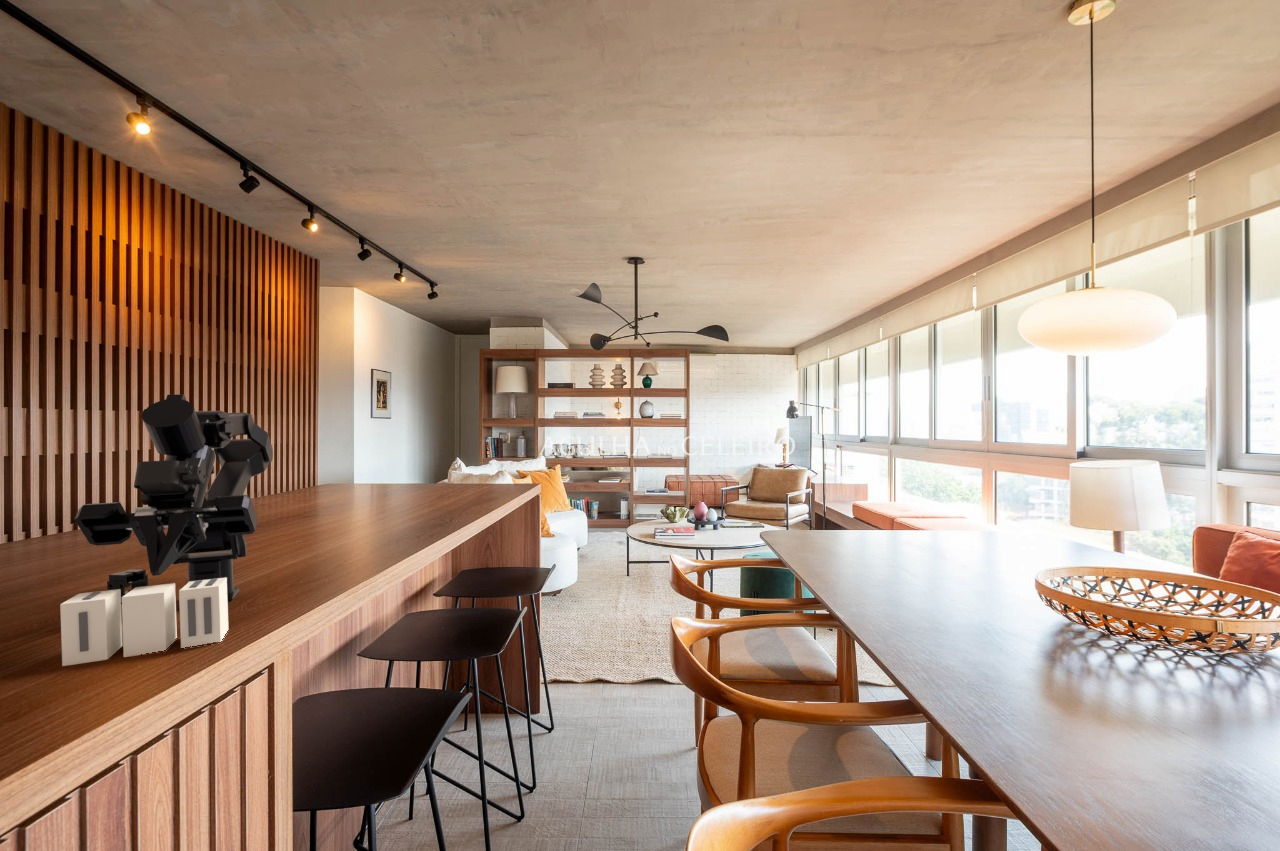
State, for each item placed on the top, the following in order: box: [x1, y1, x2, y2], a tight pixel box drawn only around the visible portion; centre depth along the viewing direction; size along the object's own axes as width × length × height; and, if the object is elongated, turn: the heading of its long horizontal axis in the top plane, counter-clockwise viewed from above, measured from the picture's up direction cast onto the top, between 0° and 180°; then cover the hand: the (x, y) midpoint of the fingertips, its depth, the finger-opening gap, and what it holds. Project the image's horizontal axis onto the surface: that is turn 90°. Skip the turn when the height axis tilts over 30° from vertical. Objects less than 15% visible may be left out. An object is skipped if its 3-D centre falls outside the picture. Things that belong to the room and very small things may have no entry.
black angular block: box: [106, 568, 149, 603], centre depth 99 cm, size 12×7×5 cm, turn 170°
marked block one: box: [59, 589, 123, 667], centre depth 73 cm, size 5×4×7 cm
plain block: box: [121, 582, 178, 658], centre depth 75 cm, size 5×4×7 cm
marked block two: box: [178, 577, 230, 649], centre depth 77 cm, size 5×4×7 cm
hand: (155, 573), depth 77 cm, fingers closed
